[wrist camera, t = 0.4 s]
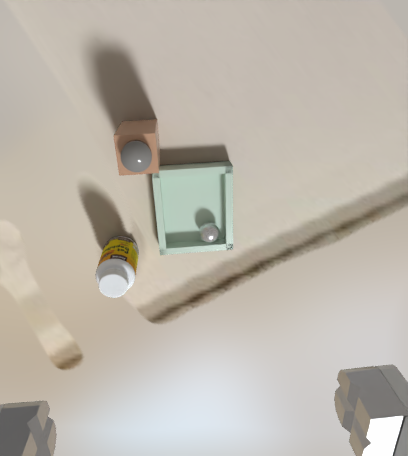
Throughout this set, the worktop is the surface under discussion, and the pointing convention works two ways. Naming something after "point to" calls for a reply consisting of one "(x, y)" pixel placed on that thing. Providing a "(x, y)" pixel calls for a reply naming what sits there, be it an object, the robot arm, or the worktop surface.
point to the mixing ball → (209, 232)
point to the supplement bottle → (117, 266)
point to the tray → (193, 206)
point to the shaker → (137, 147)
